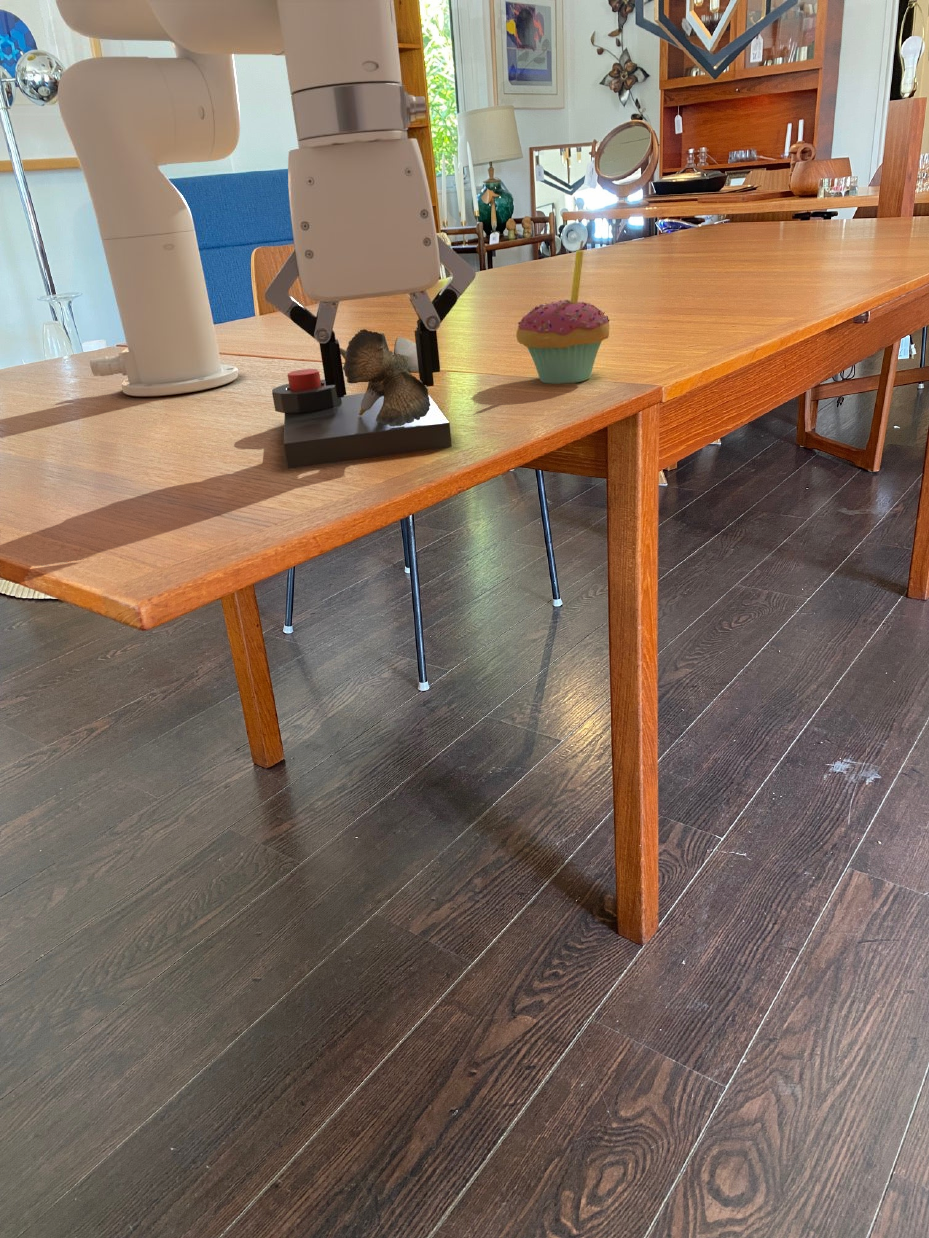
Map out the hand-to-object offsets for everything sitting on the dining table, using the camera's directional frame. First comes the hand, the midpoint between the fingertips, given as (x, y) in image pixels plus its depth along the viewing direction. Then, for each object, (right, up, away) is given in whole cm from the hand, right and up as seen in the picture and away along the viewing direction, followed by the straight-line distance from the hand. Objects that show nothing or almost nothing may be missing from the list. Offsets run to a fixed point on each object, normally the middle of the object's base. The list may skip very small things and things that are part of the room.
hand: (383, 386), depth 69 cm
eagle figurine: (0, -2, +1) cm, 2 cm away
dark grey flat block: (-2, -3, +3) cm, 5 cm away
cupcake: (+16, +5, +16) cm, 23 cm away
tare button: (-7, +1, +6) cm, 9 cm away
